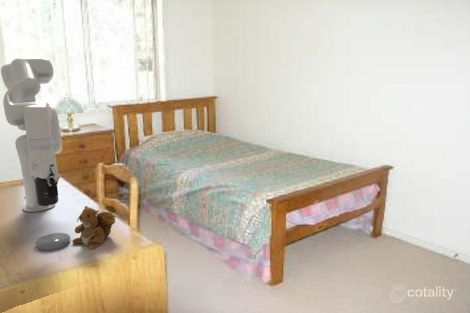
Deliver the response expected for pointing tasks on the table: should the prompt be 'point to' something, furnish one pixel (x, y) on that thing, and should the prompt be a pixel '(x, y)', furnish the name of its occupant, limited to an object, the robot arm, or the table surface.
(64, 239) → the slate plate
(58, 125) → the robot arm
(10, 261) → the table surface
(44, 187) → the supplement bottle
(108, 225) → the stuffed squirrel
